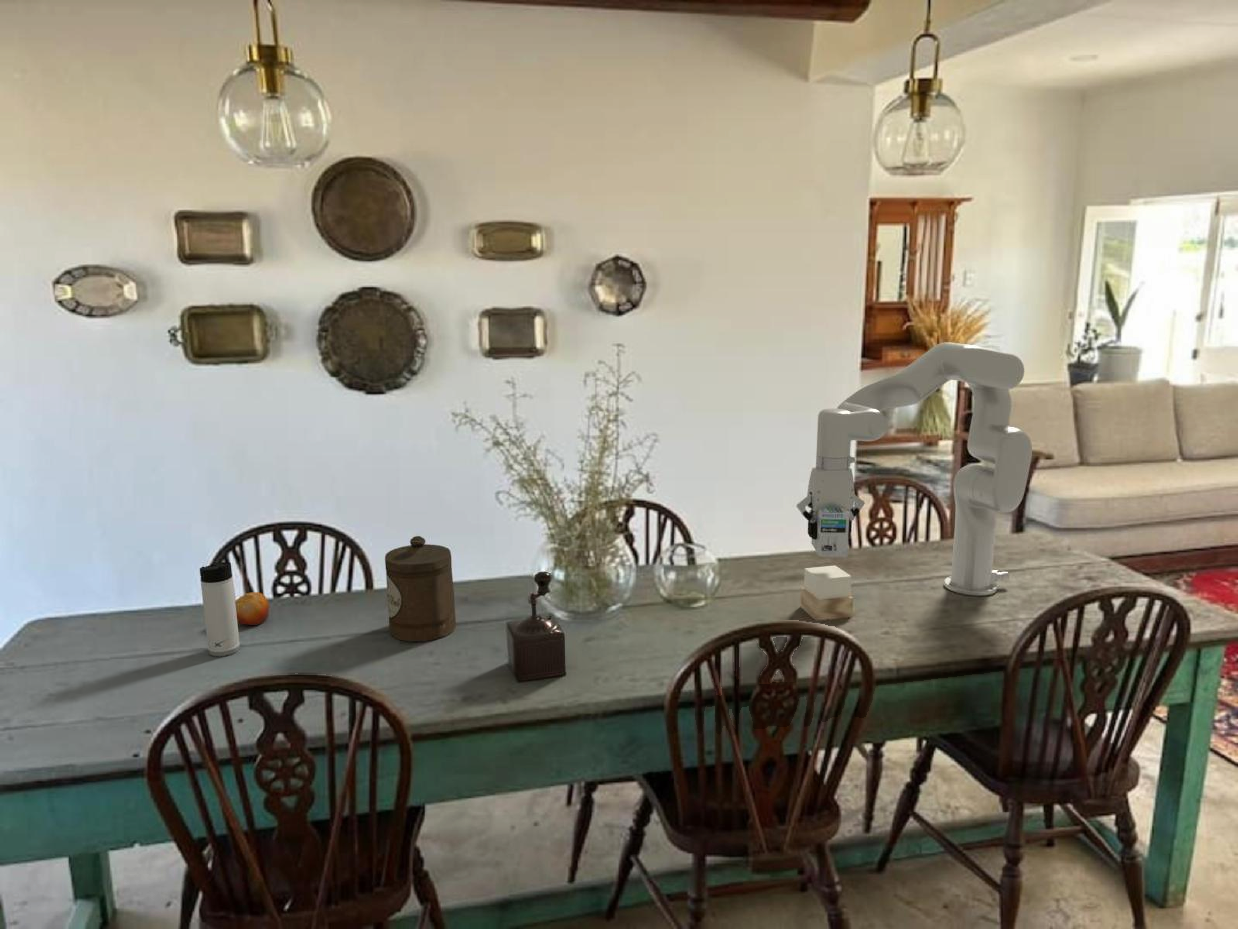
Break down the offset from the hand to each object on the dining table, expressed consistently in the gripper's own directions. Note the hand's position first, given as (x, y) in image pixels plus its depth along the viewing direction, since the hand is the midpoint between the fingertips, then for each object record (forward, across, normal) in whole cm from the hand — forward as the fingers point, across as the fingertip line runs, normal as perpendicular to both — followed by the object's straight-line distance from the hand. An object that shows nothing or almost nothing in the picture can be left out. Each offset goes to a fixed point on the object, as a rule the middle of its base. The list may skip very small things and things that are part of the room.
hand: (829, 536), depth 218 cm
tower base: (+19, 0, 0) cm, 19 cm away
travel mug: (+19, +136, -7) cm, 137 cm away
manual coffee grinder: (+19, +71, +14) cm, 75 cm away
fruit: (+19, +133, -23) cm, 136 cm away
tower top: (+14, 0, 0) cm, 14 cm away
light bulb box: (+4, 0, 0) cm, 4 cm away
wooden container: (+19, +94, -10) cm, 96 cm away
